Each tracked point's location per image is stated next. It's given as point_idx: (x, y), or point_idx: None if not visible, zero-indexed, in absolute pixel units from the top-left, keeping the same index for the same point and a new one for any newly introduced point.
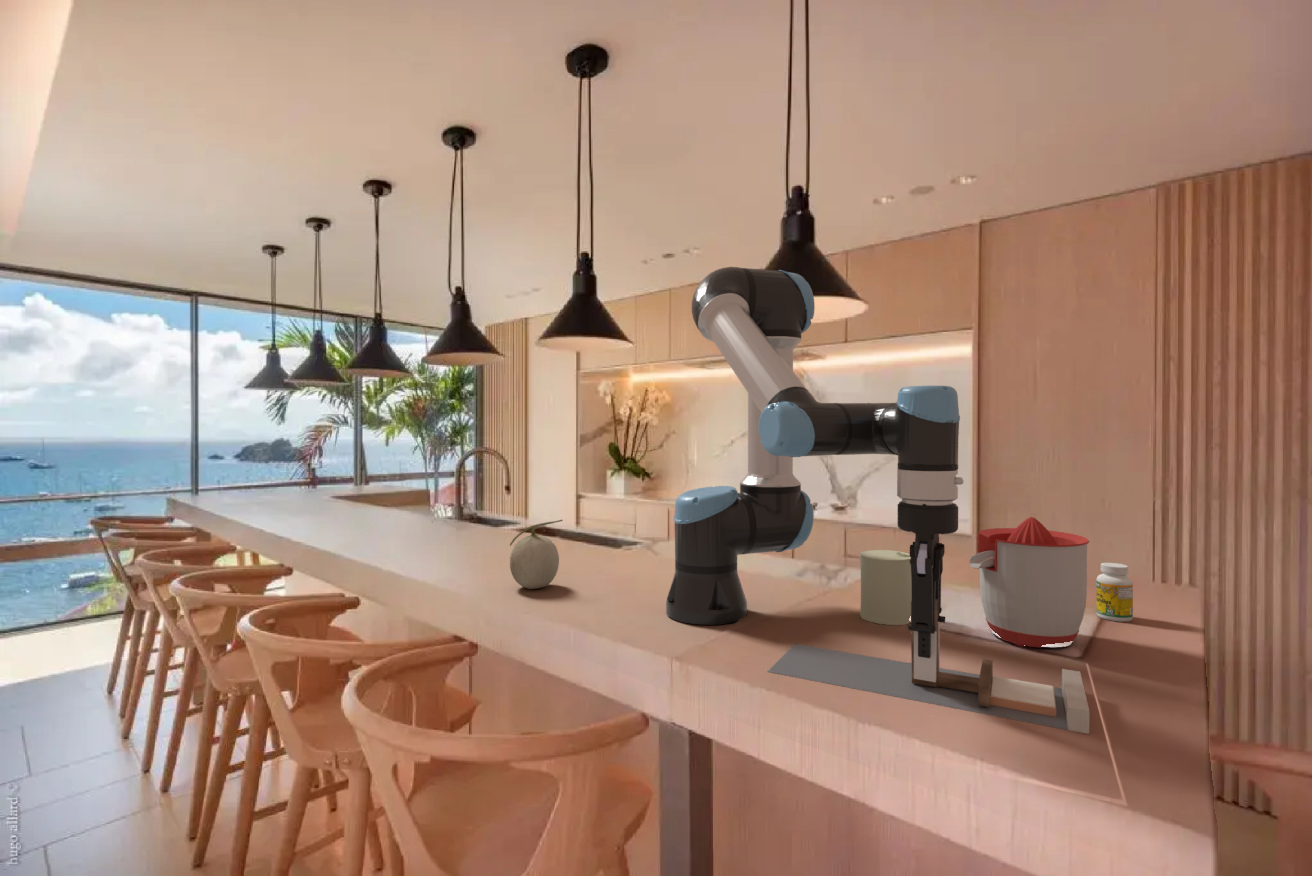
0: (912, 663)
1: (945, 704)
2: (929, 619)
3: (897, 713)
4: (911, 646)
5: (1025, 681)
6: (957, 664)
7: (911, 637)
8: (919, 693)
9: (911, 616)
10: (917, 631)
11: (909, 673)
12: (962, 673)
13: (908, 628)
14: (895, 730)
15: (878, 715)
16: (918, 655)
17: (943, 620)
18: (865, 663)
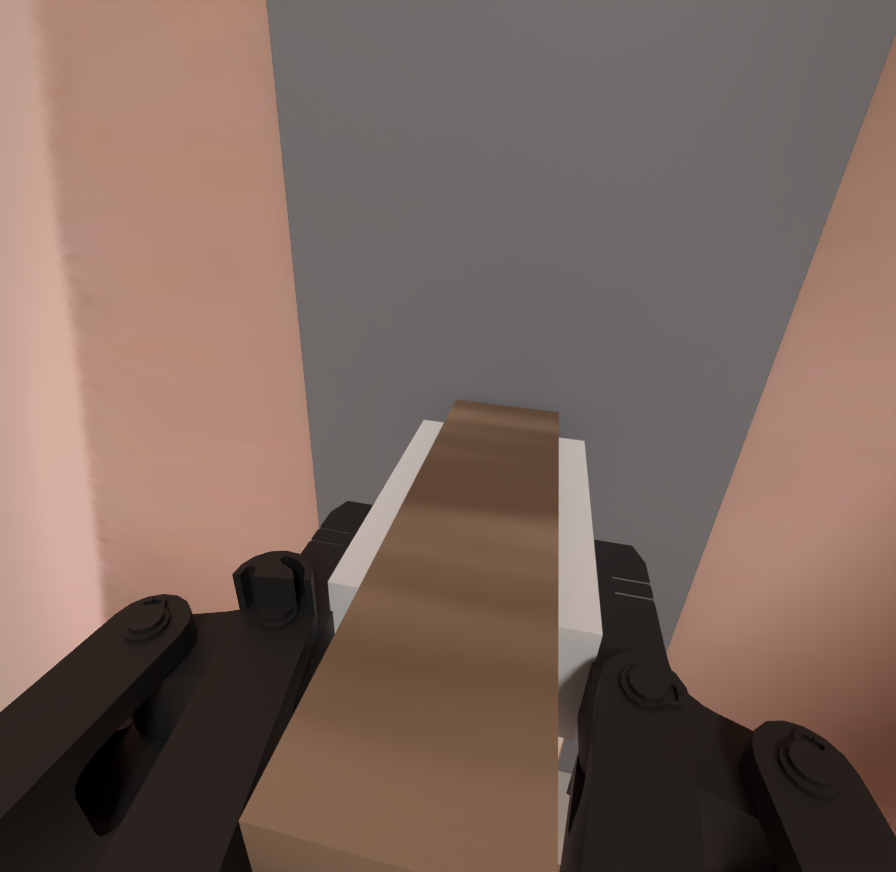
0: (436, 442)
1: (329, 499)
2: (82, 774)
3: (199, 348)
4: (411, 487)
5: (561, 738)
6: (827, 574)
7: (395, 522)
8: (379, 423)
9: (328, 651)
10: (334, 595)
11: (596, 385)
12: (667, 581)
13: (249, 563)
14: (84, 348)
15: (141, 284)
16: (341, 505)
17: (570, 785)
18: (690, 124)
